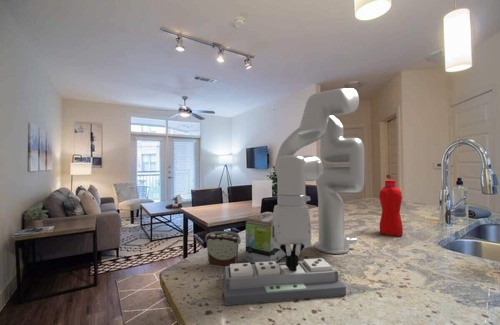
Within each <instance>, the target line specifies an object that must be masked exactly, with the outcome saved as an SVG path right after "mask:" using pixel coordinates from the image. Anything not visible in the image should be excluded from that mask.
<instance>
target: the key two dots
mask: <svg viewBox="0 0 500 325" xmlns="http://www.w3.org/2000/svg"><path fill="white" fill-rule="evenodd" d="M251 264H252V263H251V262H242V263H241V262H240V263H238V262H237V264H230V277H231V278H236V277H250V276H253V270H252V267H251Z"/></svg>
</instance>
